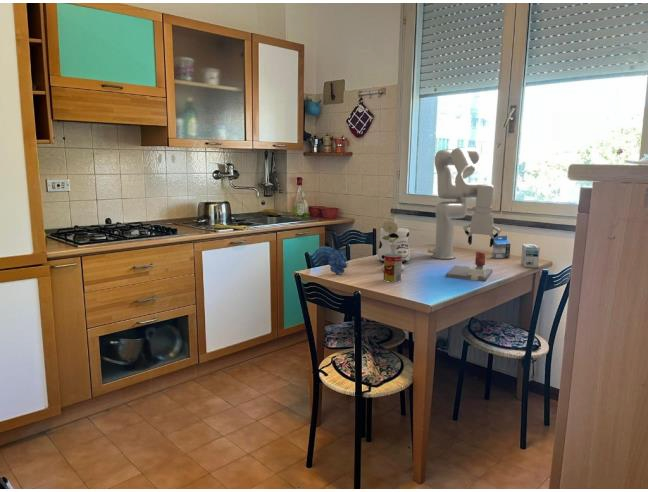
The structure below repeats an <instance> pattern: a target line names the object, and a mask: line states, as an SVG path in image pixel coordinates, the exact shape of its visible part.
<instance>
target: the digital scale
mask: <svg viewBox="0 0 648 492" xmlns="http://www.w3.org/2000/svg"><path fill="white" fill-rule="evenodd" d="M470 267H471V266H465V265H464V266H463V265H456V264H455V265H454V266H453V267H452V268H451V269H450V270H448V271H447V272H446V273H445V277H446V278H454V279H455V278H456V279H463V280H473V281H482V282H486V281H487V280H488V279H489V277H490V276H491V274H492V273H493V269H492V268H486V275H485V276H484V277H482V276H473V275H468V270H469V268H470Z"/></svg>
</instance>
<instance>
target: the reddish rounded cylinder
mask: <svg viewBox="0 0 648 492" xmlns="http://www.w3.org/2000/svg"><path fill="white" fill-rule="evenodd" d="M474 260H475V261H474V265H476V267H479V268H484V266H485V265H486V252H485V251H479V250H478V251H475V259H474Z"/></svg>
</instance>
